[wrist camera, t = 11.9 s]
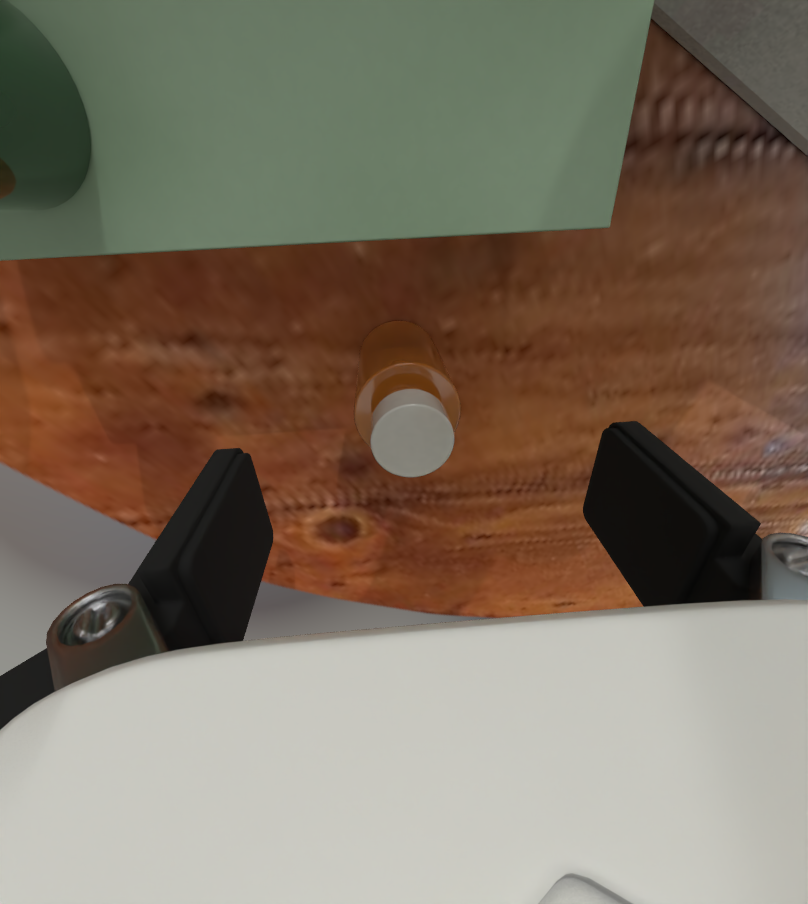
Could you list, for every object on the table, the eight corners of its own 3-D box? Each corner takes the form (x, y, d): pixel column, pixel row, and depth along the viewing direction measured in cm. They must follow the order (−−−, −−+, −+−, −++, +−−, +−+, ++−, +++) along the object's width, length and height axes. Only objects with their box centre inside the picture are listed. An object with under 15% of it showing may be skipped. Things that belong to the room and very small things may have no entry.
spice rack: (554, -126, 13) (1055, -1064, 3) (521, 222, 18) (685, 232, 9) (-74, -113, 12) (-1623, -1251, 3) (77, 246, 18) (-278, 284, 8)
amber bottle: (437, 317, 20) (476, 381, 12) (436, 393, 22) (470, 488, 15) (354, 322, 20) (343, 389, 12) (362, 398, 22) (357, 496, 15)
